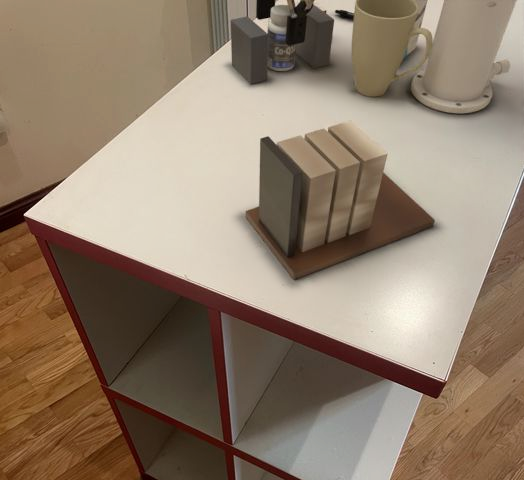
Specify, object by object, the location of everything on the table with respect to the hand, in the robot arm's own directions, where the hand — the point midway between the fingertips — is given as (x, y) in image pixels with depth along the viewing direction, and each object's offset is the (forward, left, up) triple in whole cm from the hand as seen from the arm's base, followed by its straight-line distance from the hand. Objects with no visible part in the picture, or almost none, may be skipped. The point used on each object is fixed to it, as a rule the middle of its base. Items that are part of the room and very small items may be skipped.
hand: (279, 30), depth 83 cm
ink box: (-20, +5, -6) cm, 22 cm away
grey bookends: (0, 0, -5) cm, 5 cm away
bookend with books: (+13, +38, -5) cm, 41 cm away
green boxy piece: (-9, -7, -6) cm, 13 cm away
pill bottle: (0, 0, -6) cm, 6 cm away
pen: (-23, -6, -6) cm, 24 cm away
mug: (-10, +14, -6) cm, 19 cm away
